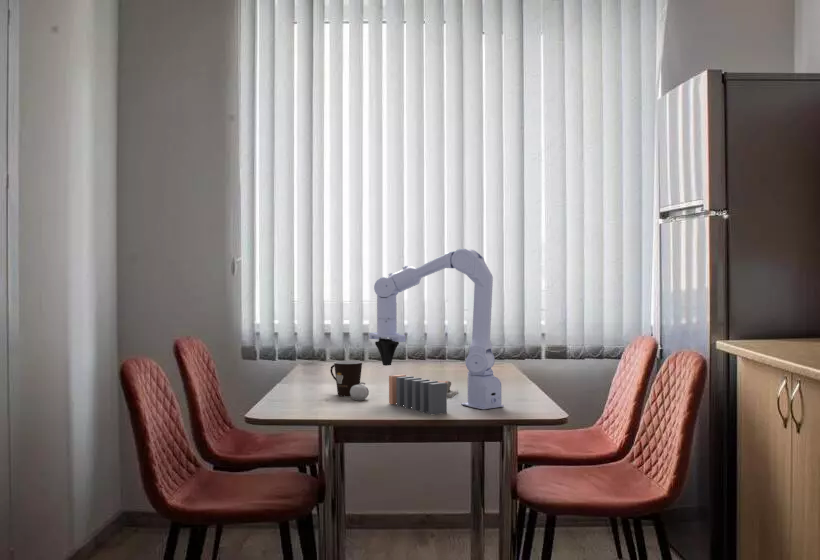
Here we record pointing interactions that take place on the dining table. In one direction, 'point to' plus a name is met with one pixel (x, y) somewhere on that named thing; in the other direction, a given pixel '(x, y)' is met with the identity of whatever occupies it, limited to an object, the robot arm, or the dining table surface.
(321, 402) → the dining table surface
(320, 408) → the dining table surface
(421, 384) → the domino
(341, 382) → the coffee mug
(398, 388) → the domino
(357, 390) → the garlic
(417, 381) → the domino
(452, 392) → the packaged product
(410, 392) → the domino
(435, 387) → the domino
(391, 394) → the domino
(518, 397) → the dining table surface
